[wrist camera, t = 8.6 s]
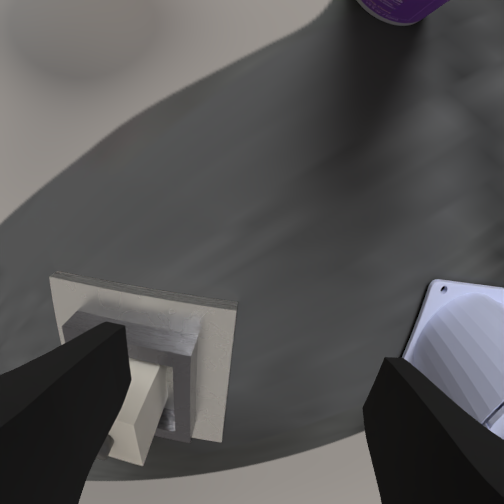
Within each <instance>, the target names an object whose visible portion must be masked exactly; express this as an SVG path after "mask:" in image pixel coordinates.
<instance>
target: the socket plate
mask: <svg viewBox="0 0 504 504" xmlns="http://www.w3.org/2000/svg"><path fill="white" fill-rule="evenodd" d="M49 278H50V285H51V292H52V298H53V304H54V310H55V315H56V320H57V325H58V330H59V335H60V340H61V344H62V345H63V344H65V343H66V342H68V341H70V340H72V339H74V338H75V337H77V336H79V335H81V334H83V333H84V332H86V331H88V330H90V329H92V328H93V327H95V326H97V325H99V324H101V323H103V322H106V321H107V322H112V323H116V324H121V325H125V328H126V338H127V347H128V356H129V358H133V359H137V360H141V361H146V362H150V363H155V364H160V365H165V366H166V376H167V395H168V398H167V401H166V404H165V407H164V409H163V412H162V415H161V417H160V420H159V423H158V426H157V428H156V431H155V434H154V436H158V437H162V438H167V439H171V440H176V441H181V442H186V443H191V439H192V438H197V439H203V440H209V441H215V442H222V437H223V430H224V421H225V412H226V403H227V394H228V385H229V376H230V367H231V359H232V350H233V341H234V333H235V324H236V316H237V307H238V302H235V301H228V300H221V299H214V298H207V297H200V296H194V295H188V294H181V293H175V292H169V291H163V290H157V289H151V288H145V287H140V286H134V285H128V284H123V283H117V282H112V281H107V280H101V279H96V278H91V277H86V276H81V275H76V274H71V273H66V272H62V271H56V272H55V273H54V274H52V275H51V276H49Z"/></svg>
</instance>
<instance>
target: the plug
mask: <svg viewBox="0 0 504 504" xmlns="http://www.w3.org/2000/svg"><path fill="white" fill-rule="evenodd" d="M129 364H130V371H131V378H132V380H131V383H130V386H129V389H128V392H127V395H126V397H125V400H124V403H123V405H122V408H121V410H120V412H119V414H118V416H117V418H116V420H115V422H114V424H113V426H112V428H111V430H110V431H109V433H108V435H107V437H106V439H105V441H104V443H103V445H102V447H101V449H100V451H99V453H98V455H97V457H96V458H97V459H99V460H106V459H107V457H108V456H110V457H114V458H117V459H120V460H123V461H127V462H130V463H134V464H137V465H141V466H143V465H144V462H145V459H146V456H147V453H148V451H149V448H150V445H151V442H152V440H153V437H154V434H155V431H156V428H157V426H158V423H159V420H160V417H161V415H162V412H163V409H164V407H165V404H166V401H167V398H168V395H167V376H166V366H165V365H160V364H155V363H150V362H146V361H141V360H137V359H133V358H129Z"/></svg>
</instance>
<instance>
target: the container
mask: <svg viewBox="0 0 504 504" xmlns="http://www.w3.org/2000/svg"><path fill="white" fill-rule="evenodd" d="M448 1H449V0H357V2H358V3H359V4H360V5H361V6H362V7H363V8H364V9H365V10H366V11H367V12H368V13H369V14H371V15H372V16H374V17H376V18H377V19H379V20H381V21H384V22H386V23H389V24H393V25H399V26H407V25H412V24H415V23H417V22H418V21H420V20H422V19H423V18H424V17H426V16H427V15H429V14H430V13H432V12H433V11H434V10H436V9H437V8H439V7H440V6H442V5H443V4H445V3H446V2H448Z"/></svg>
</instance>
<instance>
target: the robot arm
mask: <svg viewBox="0 0 504 504" xmlns="http://www.w3.org/2000/svg"><path fill="white" fill-rule="evenodd" d="M443 286H445V288H444V289H443V290H442V291H441V288H442V287H443ZM131 380H132V378H131V371H130V364H129V356H128V347H127V338H126V328H125V325H121V324H116V323H112V322H107V321H106V322H103V323H101V324H99V325H97V326H95V327H93V328H92V329H90V330H88V331H86V332H84V333H83V334H81V335H79V336H77V337H75V338H74V339H72V340H70V341H68V342H66V343H65V344H63V345H61V346H59V347H57V348H56V349H54V350H52V351H50V352H48V353H46V354H44V355H42V356H40V357H38V358H36V359H34V360H32V361H30V362H28V363H26V364H24V365H22V366H20V367H18V368H16V369H14V370H11V371H9V372H7V373H4V374H2V375H0V504H78V503H79V499H80V496H81V493H82V490H83V487H84V484H85V481H86V478H87V476H88V473H89V471H90V469H91V467H92V464H93V462H94V460H95V458H96V457H97V455H98V453H99V451H100V449H101V447H102V445H103V443H104V441H105V439H106V437H107V435H108V433H109V431H110V430H111V428H112V426H113V424H114V422H115V420H116V418H117V416H118V414H119V412H120V410H121V408H122V405H123V403H124V400H125V397H126V395H127V392H128V389H129V386H130V383H131ZM363 416H364V425H365V433H366V439H367V443H368V447H369V451H370V455H371V459H372V464H373V467H374V472H375V476H376V480H377V484H378V487H379V492H380V497H381V502H382V504H504V288H502V287H494V286H486V285H479V284H471V283H463V282H455V281H448V280H440V279H435V280H433V281H432V282H431V283H430V284H429V287H428V290H427V293H426V296H425V299H424V301H423V304H422V307H421V310H420V313H419V315H418V318H417V321H416V323H415V326H414V329H413V331H412V334H411V336H410V339H409V341H408V344H407V346H406V348H405V351H404V353H403V355H402V358H387V357H385V358H384V361H383V363H382V365H381V368H380V370H379V373H378V375H377V377H376V380H375V382H374V384H373V386H372V389H371V391H370V393H369V395H368V397H367V400H366V402H365V404H364V406H363Z"/></svg>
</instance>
